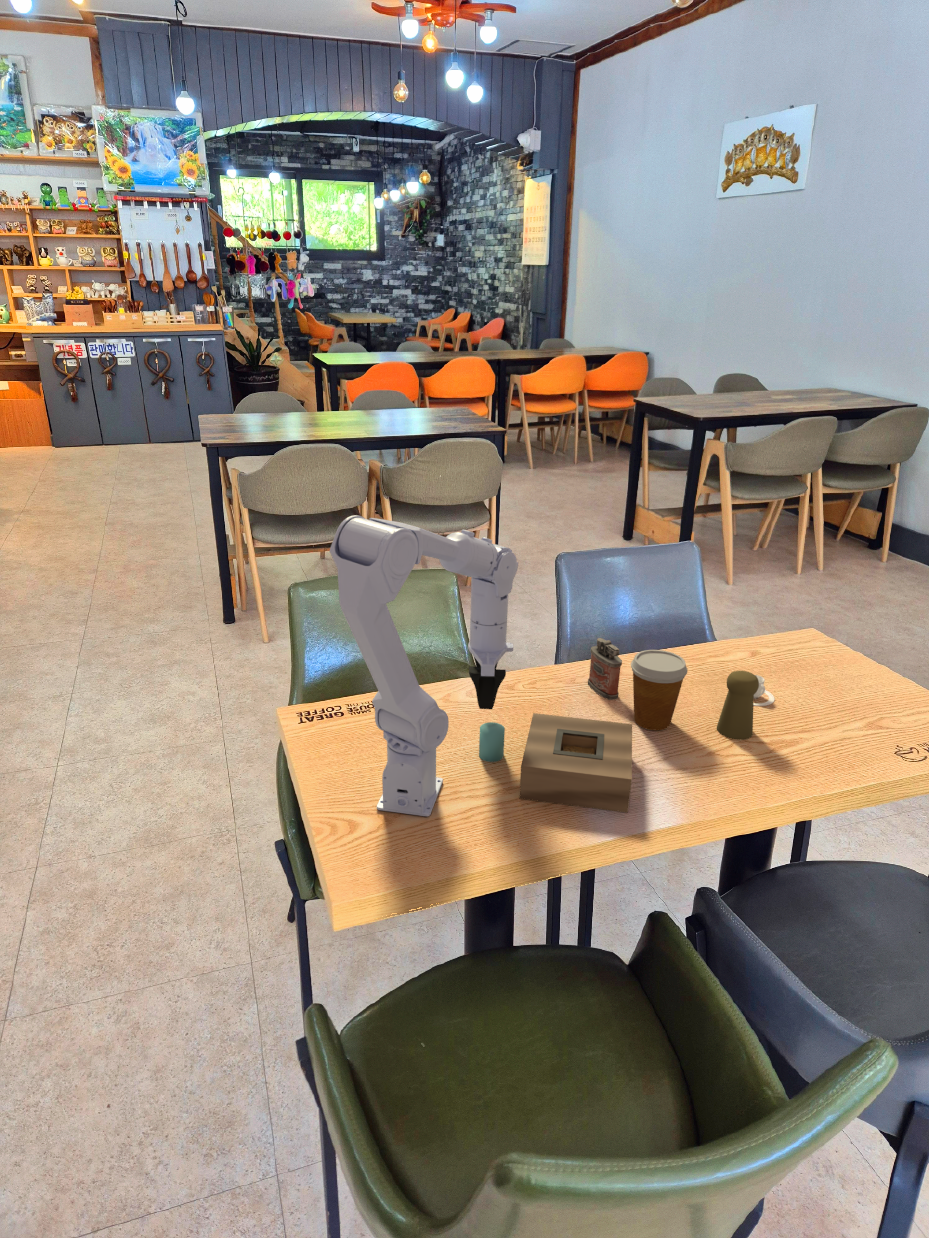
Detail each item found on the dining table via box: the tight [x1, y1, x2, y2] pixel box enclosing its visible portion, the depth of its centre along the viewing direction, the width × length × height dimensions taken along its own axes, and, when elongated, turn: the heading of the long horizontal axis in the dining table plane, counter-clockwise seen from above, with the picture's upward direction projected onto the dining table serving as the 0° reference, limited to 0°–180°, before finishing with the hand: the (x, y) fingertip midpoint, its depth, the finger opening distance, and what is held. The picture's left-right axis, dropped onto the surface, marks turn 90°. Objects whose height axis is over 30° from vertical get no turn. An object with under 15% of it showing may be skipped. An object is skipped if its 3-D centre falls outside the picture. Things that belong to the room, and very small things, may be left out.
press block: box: [518, 712, 633, 814], centre depth 128 cm, size 16×16×6 cm
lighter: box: [587, 637, 623, 701], centre depth 154 cm, size 8×3×10 cm, turn 25°
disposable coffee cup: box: [630, 649, 689, 731], centre depth 143 cm, size 10×10×12 cm
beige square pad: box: [563, 745, 595, 754], centre depth 128 cm, size 5×5×1 cm
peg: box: [478, 721, 506, 763], centre depth 133 cm, size 4×4×5 cm
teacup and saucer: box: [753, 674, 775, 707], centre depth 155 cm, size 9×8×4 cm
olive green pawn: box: [716, 670, 759, 741], centre depth 141 cm, size 6×6×11 cm
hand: (485, 696), depth 133 cm, fingers open, 7 cm apart
